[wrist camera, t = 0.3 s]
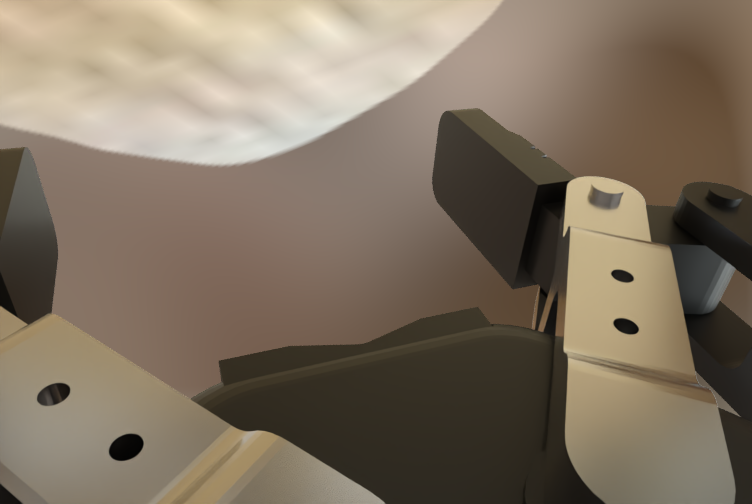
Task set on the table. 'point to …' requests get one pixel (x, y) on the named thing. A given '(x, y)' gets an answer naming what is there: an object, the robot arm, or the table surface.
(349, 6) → the table surface
